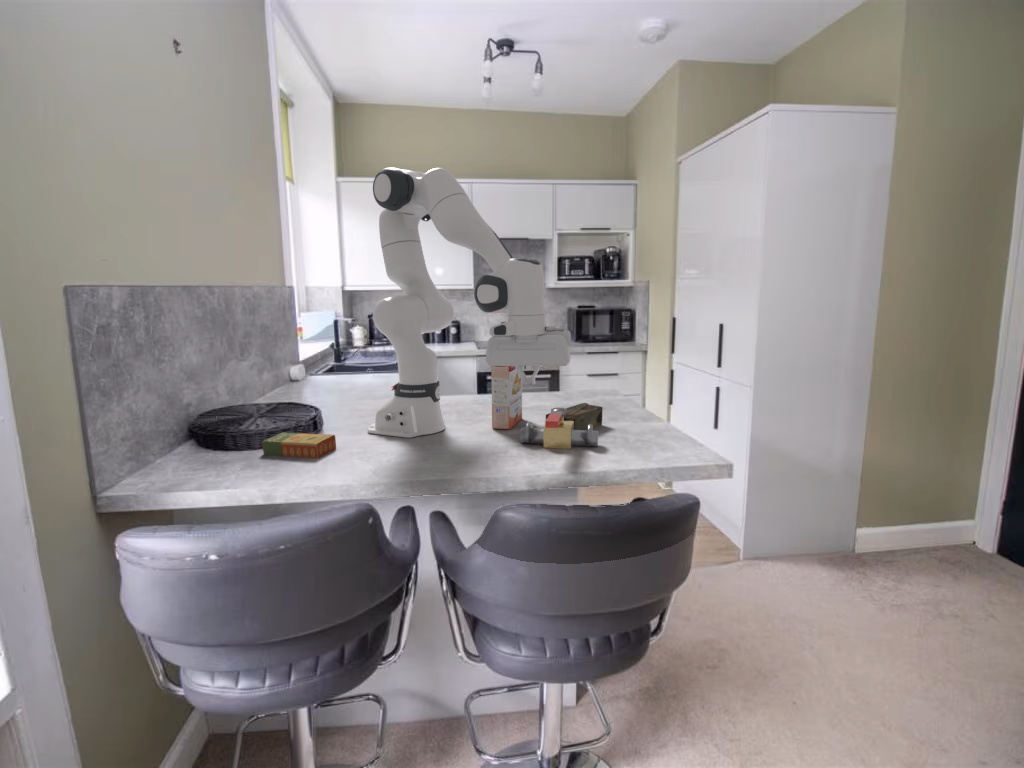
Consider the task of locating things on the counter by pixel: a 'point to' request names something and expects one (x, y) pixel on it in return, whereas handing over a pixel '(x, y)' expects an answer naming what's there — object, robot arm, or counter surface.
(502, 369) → the cracker box
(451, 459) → the counter surface
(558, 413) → the lever
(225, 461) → the counter surface
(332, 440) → the carton
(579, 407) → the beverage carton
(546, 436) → the valve body
